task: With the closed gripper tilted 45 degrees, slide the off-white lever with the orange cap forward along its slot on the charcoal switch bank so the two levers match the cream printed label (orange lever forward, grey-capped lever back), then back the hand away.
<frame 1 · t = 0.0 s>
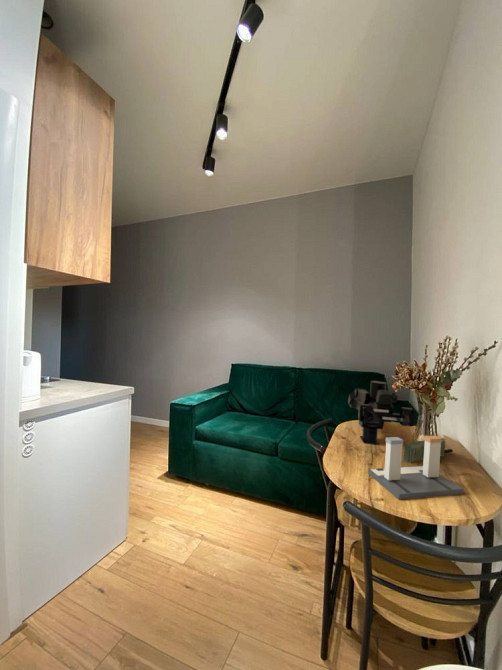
hand: (394, 422, 90), 17 cm above the table, tool horizontal, fingers open, 9 cm apart
switch bank: (416, 484, 83), on the table
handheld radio: (429, 458, 103), on the table
lever b: (393, 458, 82), point 8 cm above the table, slide at 0.0 cm
lever a: (431, 456, 85), point 8 cm above the table, slide at 0.0 cm
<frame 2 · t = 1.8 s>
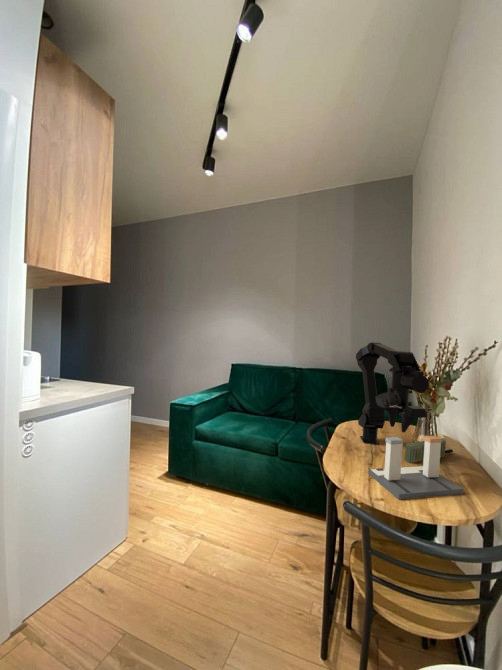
hand: (397, 429, 97), 12 cm above the table, tool pointing down, fingers open, 5 cm apart
nothing on the table moved.
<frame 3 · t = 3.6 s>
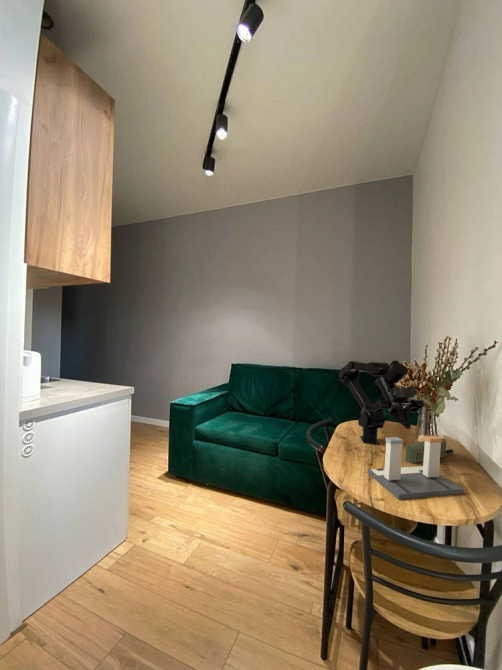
hand: (409, 428, 94), 13 cm above the table, tool tilted 45°, fingers closed
nothing on the table moved.
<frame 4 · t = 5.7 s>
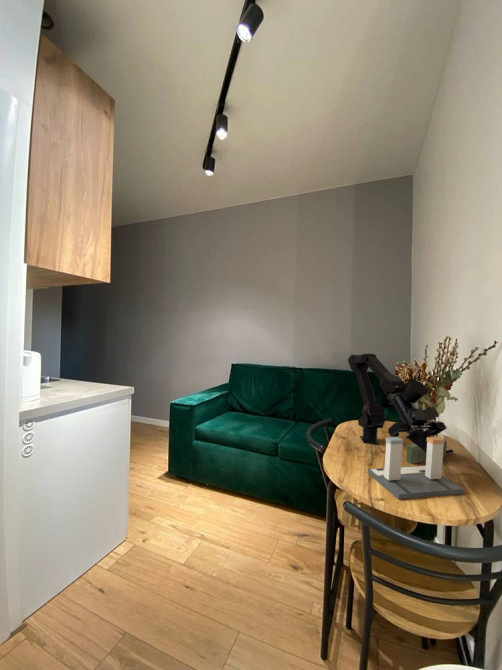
hand: (431, 454, 85), 8 cm above the table, tool tilted 45°, fingers closed, pressing on lever a
lever a: (434, 457, 84), point 8 cm above the table, slide at 1.0 cm, touching gripper
everything else where it was.
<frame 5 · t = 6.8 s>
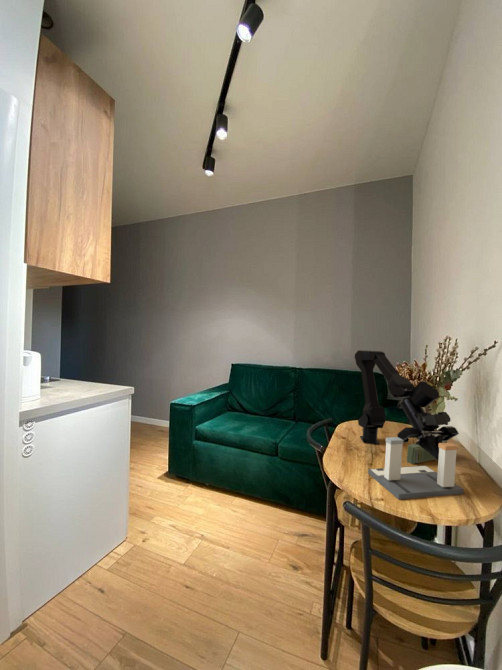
hand: (442, 462, 81), 8 cm above the table, tool tilted 45°, fingers closed, pressing on lever a
lever a: (446, 464, 80), point 8 cm above the table, slide at 5.2 cm, touching gripper
everything else where it was.
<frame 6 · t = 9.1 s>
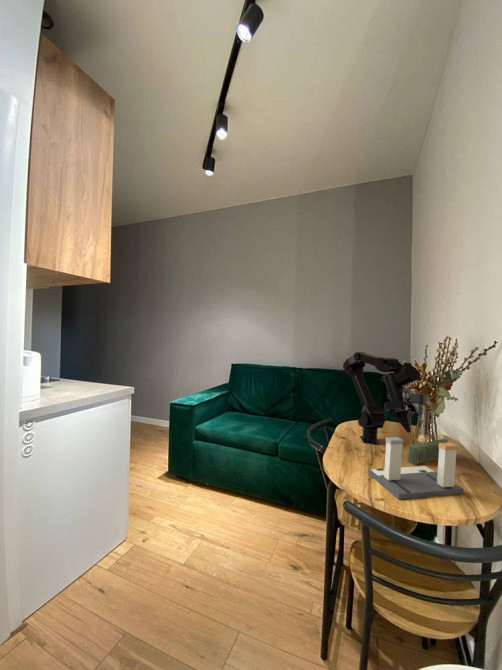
hand: (409, 432, 94), 12 cm above the table, tool tilted 30°, fingers closed
lever a: (446, 464, 80), point 8 cm above the table, slide at 5.2 cm
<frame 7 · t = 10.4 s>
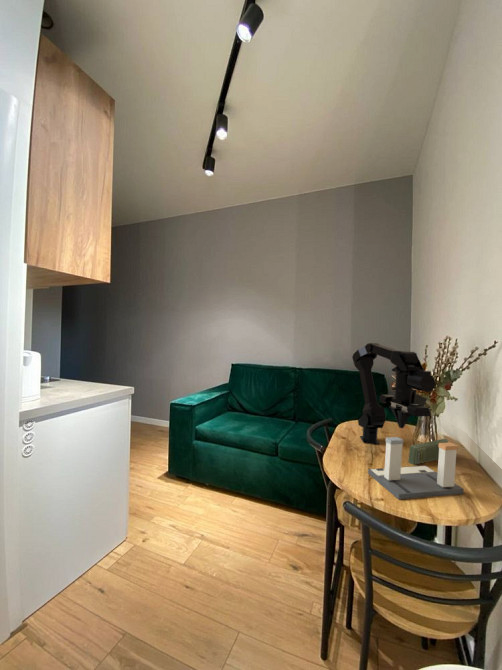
hand: (401, 427, 98), 12 cm above the table, tool pointing down, fingers closed
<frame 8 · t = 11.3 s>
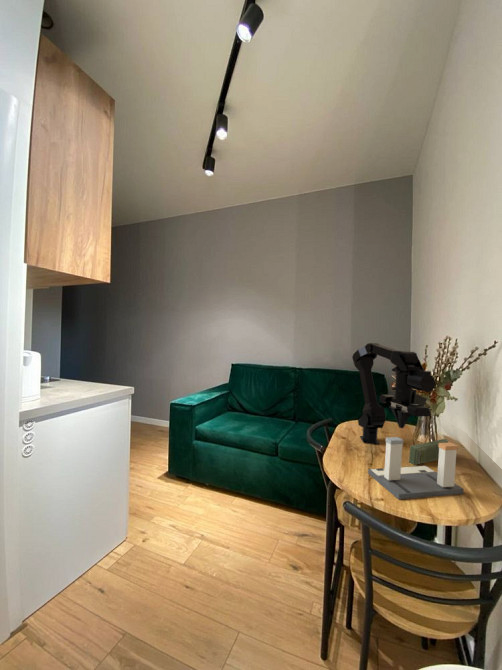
hand: (401, 427, 98), 12 cm above the table, tool pointing down, fingers closed
at the end: lever a slide at 5.2 cm; lever b slide at 0.0 cm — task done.
